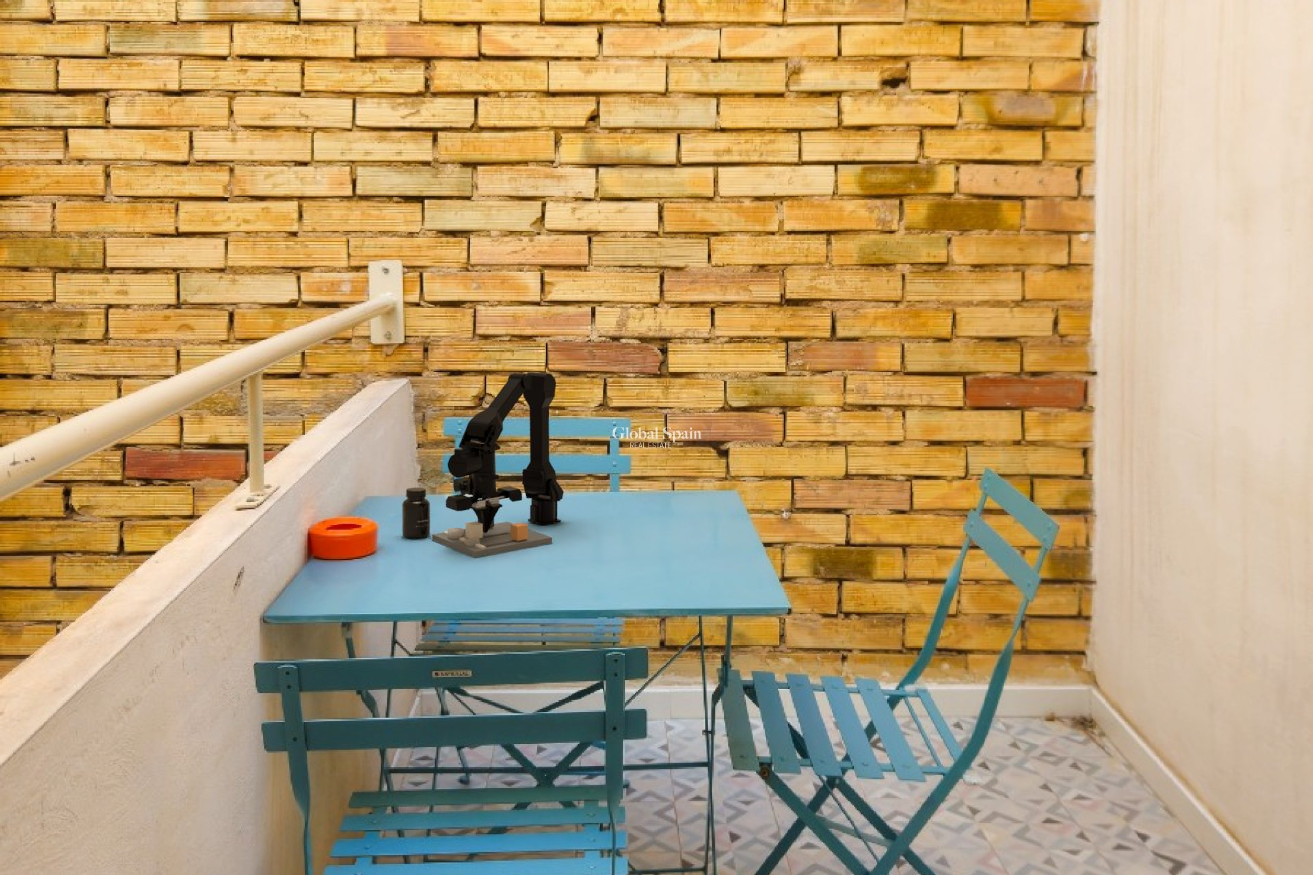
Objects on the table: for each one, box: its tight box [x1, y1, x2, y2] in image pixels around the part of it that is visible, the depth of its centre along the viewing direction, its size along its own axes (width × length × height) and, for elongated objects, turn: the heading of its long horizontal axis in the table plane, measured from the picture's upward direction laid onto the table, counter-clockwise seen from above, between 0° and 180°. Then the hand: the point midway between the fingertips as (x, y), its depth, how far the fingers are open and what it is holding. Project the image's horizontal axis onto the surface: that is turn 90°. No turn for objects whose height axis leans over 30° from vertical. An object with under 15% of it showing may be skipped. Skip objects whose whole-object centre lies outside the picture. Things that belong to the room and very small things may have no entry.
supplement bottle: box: [401, 487, 431, 540], centre depth 307 cm, size 7×7×12 cm
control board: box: [431, 521, 553, 559], centre depth 303 cm, size 22×20×4 cm
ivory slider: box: [464, 521, 483, 539], centre depth 300 cm, size 3×3×4 cm
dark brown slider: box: [477, 518, 495, 527], centre depth 311 cm, size 3×3×4 cm
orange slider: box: [511, 522, 529, 541], centre depth 299 cm, size 3×3×4 cm
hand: (485, 532), depth 302 cm, fingers closed
